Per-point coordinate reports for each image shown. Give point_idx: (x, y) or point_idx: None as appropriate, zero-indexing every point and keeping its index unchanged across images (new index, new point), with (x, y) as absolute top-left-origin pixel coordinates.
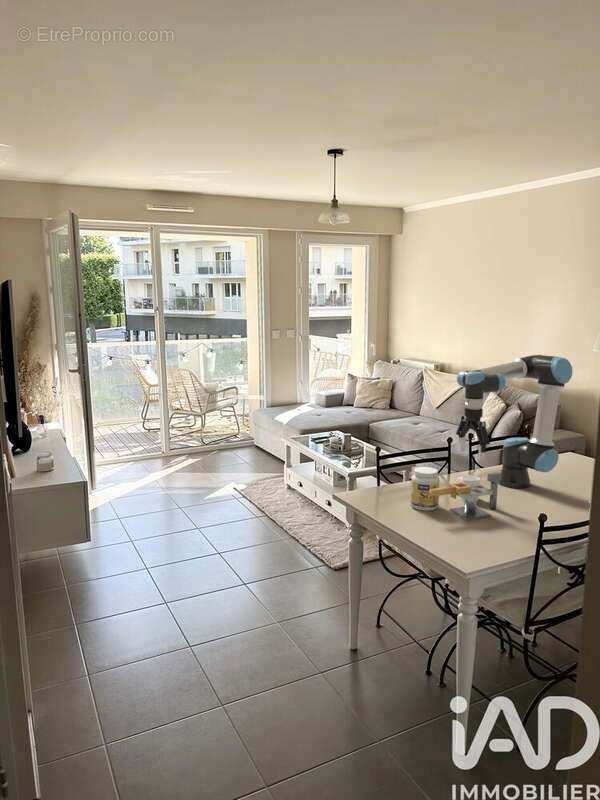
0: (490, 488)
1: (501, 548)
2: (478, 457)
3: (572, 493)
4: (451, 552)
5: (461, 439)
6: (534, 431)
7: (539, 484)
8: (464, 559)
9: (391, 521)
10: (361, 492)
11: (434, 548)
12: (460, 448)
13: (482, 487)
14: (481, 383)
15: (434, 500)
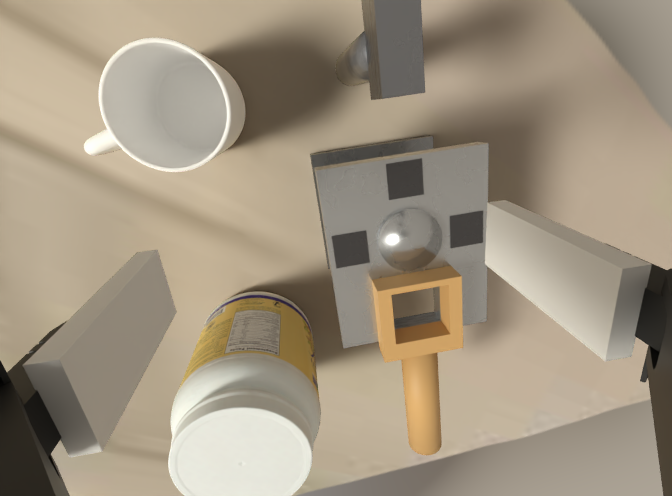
0: (367, 78)
1: (653, 250)
2: (495, 272)
3: None
4: (601, 383)
5: (109, 414)
6: None
7: None
8: None
9: (362, 459)
10: (69, 487)
11: (562, 411)
12: (163, 334)
13: (422, 173)
14: None
15: (310, 341)
